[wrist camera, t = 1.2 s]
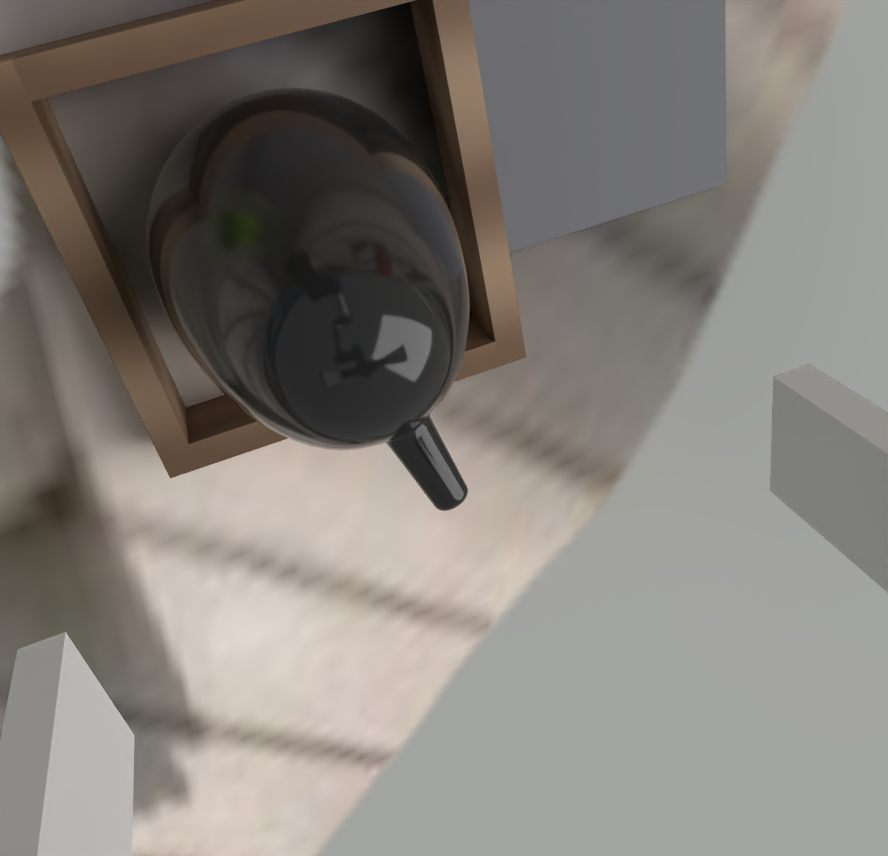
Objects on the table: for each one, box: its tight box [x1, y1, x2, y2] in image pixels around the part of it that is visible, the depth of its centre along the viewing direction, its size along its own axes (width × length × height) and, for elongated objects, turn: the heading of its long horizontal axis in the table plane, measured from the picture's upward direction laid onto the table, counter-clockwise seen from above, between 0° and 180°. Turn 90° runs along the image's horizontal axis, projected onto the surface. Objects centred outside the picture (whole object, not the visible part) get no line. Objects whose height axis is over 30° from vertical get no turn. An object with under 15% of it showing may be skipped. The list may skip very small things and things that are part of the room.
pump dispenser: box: [146, 88, 470, 511], centre depth 25 cm, size 10×10×15 cm
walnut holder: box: [0, 0, 526, 478], centre depth 30 cm, size 15×15×3 cm
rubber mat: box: [468, 0, 726, 252], centre depth 32 cm, size 12×11×1 cm
